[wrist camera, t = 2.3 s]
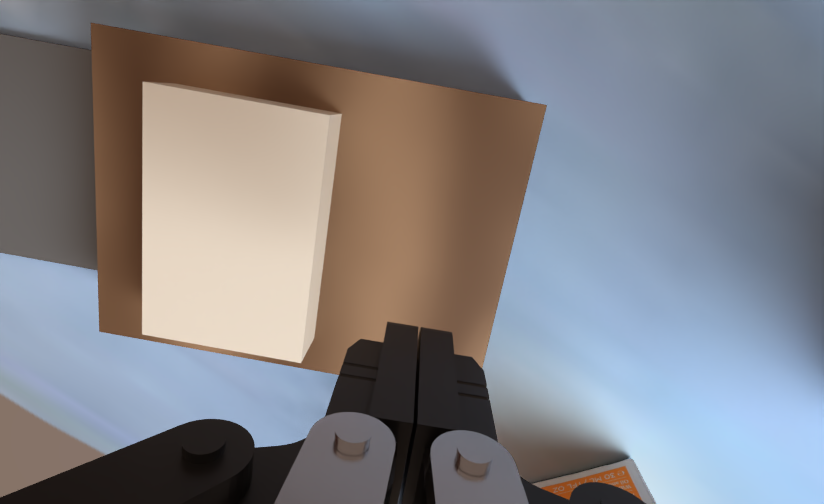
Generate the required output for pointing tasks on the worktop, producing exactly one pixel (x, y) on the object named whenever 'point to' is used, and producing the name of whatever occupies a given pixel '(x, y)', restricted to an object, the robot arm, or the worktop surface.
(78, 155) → the mat
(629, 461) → the skincare box
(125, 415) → the worktop surface
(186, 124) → the cream rectangular block
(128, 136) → the brown flat block
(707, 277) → the worktop surface
